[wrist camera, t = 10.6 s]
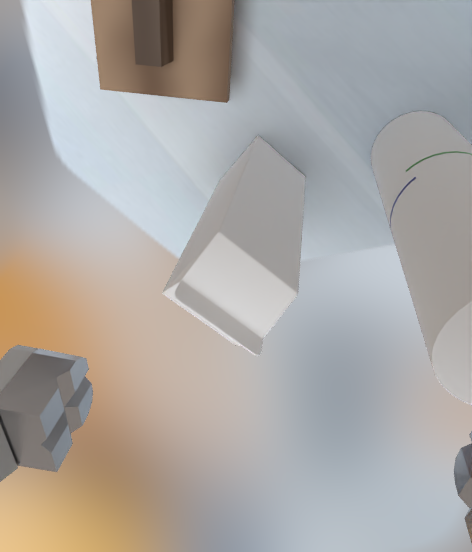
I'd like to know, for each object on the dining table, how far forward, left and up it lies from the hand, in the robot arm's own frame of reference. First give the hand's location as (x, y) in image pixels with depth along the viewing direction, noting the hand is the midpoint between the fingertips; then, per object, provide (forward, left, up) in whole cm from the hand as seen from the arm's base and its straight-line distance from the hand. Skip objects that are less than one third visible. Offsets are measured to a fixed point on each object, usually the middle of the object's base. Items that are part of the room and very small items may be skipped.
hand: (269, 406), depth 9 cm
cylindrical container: (-10, +4, -33) cm, 35 cm away
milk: (+3, +8, -33) cm, 34 cm away
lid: (+11, -5, -28) cm, 31 cm away
